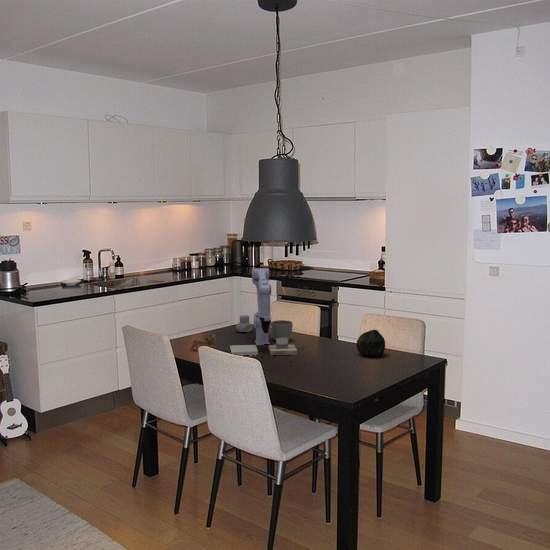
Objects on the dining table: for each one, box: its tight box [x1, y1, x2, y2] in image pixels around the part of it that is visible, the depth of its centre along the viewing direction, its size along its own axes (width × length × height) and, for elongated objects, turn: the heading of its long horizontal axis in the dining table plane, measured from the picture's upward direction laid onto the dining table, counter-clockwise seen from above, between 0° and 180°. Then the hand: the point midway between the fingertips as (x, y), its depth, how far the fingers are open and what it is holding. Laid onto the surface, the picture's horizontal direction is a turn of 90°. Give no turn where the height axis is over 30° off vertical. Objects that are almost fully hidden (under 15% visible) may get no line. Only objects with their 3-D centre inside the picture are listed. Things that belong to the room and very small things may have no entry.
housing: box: [275, 338, 289, 349], centre depth 327 cm, size 4×6×5 cm
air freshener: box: [235, 314, 254, 333], centre depth 375 cm, size 11×8×10 cm
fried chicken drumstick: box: [189, 333, 217, 353], centre depth 330 cm, size 15×5×9 cm, turn 101°
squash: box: [356, 329, 386, 357], centre depth 321 cm, size 14×15×15 cm
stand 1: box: [229, 344, 259, 357], centre depth 326 cm, size 14×14×2 cm
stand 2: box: [267, 343, 298, 357], centre depth 328 cm, size 14×14×2 cm
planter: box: [270, 319, 293, 342], centre depth 353 cm, size 12×12×11 cm
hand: (265, 331), depth 331 cm, fingers open, 7 cm apart
